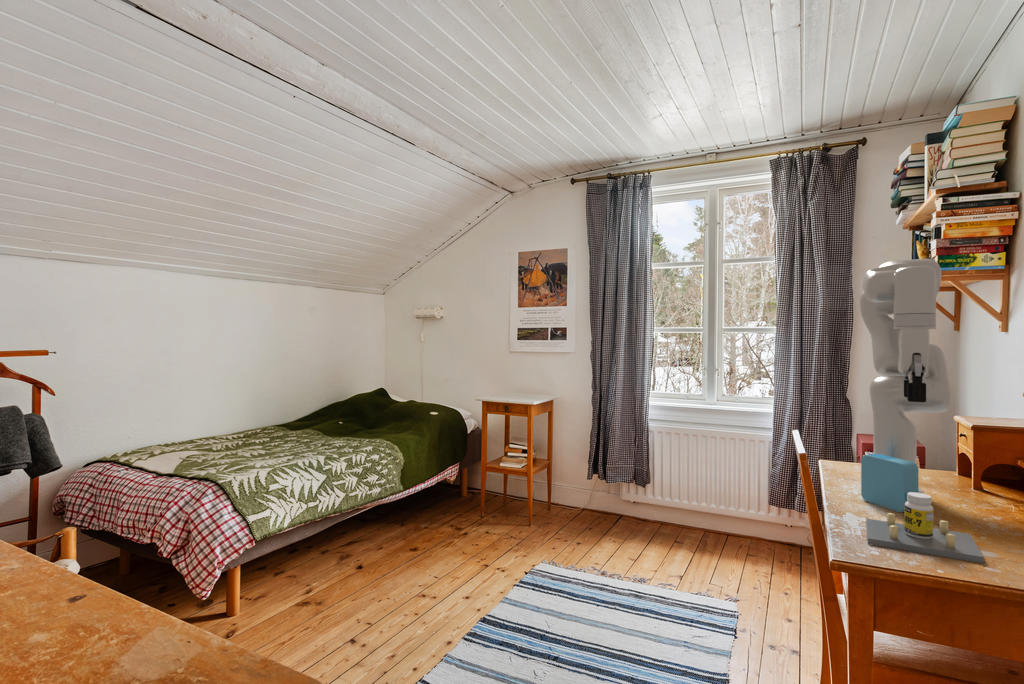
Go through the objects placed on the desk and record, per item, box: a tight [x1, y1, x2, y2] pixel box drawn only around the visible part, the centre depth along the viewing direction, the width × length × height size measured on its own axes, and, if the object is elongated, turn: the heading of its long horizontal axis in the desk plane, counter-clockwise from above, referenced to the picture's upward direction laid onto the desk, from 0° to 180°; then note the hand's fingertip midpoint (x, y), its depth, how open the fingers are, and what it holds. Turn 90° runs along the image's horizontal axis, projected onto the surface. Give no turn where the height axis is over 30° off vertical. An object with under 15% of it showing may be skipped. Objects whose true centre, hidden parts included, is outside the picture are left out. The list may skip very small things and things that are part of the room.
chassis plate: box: [865, 512, 985, 564], centre depth 111 cm, size 14×18×4 cm
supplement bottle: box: [903, 492, 934, 539], centre depth 111 cm, size 5×5×8 cm
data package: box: [860, 453, 919, 513], centre depth 134 cm, size 12×4×12 cm, turn 13°
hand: (914, 399), depth 119 cm, fingers open, 9 cm apart
